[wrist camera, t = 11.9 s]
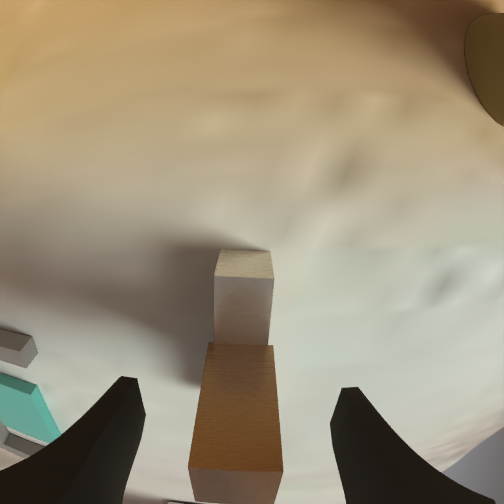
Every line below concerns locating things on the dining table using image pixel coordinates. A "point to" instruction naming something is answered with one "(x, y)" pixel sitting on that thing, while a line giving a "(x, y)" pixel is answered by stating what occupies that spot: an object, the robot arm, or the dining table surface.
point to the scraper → (239, 390)
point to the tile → (26, 409)
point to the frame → (21, 354)
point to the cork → (487, 62)
